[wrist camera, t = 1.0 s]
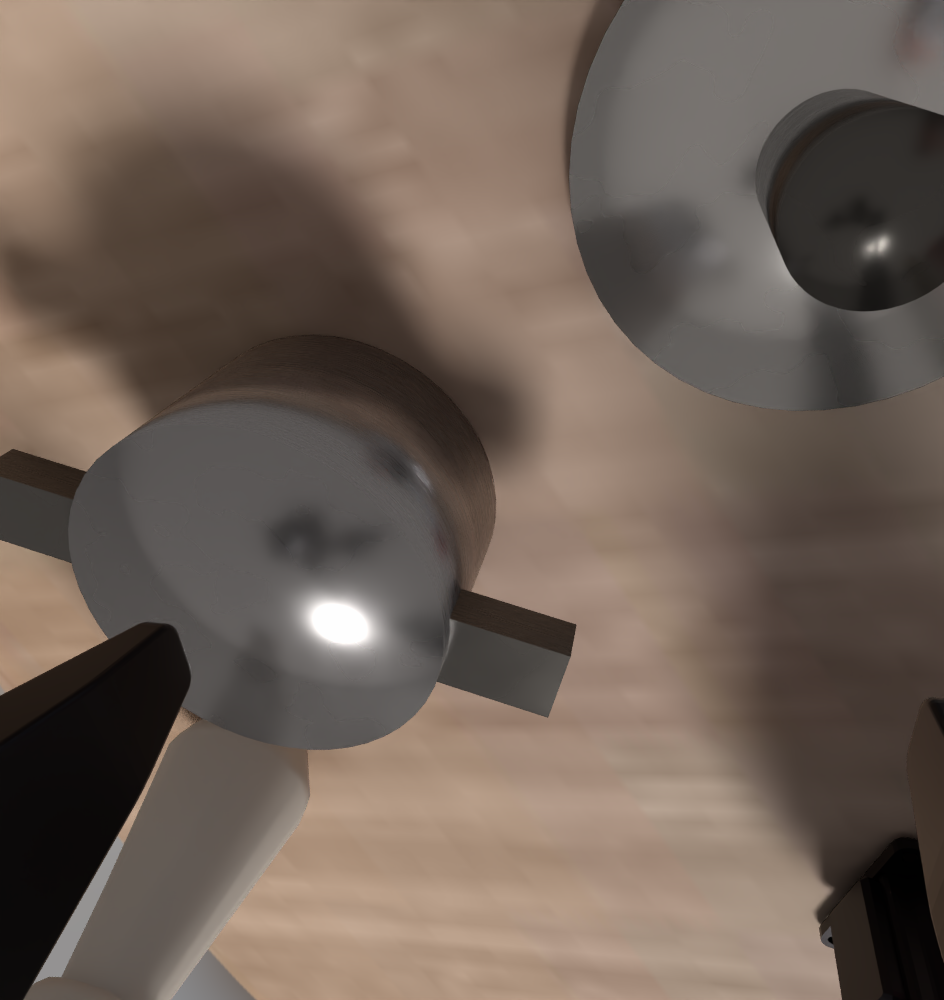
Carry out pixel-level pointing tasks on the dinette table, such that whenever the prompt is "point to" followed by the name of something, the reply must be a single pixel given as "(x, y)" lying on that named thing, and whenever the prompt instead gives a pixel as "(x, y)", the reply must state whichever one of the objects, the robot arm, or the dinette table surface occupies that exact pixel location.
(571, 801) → the dinette table surface
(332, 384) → the cooker pot
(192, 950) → the salt shaker
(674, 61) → the cooker lid
